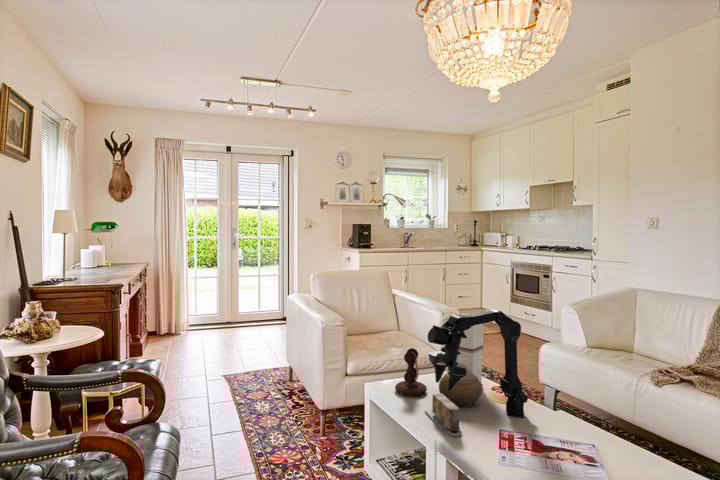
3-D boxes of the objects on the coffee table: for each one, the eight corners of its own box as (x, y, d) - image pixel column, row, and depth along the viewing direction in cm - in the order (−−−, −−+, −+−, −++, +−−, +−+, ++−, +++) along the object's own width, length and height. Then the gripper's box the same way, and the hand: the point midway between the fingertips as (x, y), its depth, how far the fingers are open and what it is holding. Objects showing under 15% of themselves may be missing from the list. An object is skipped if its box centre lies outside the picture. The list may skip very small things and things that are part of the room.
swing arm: (461, 430, 163) (461, 410, 163) (451, 431, 162) (451, 411, 162) (441, 411, 180) (441, 393, 180) (432, 412, 179) (432, 394, 179)
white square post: (482, 388, 212) (483, 316, 211) (472, 394, 204) (473, 319, 203) (461, 382, 219) (462, 313, 219) (450, 388, 211) (451, 316, 211)
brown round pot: (477, 396, 202) (479, 359, 201) (484, 412, 185) (486, 372, 184) (434, 393, 204) (435, 356, 203) (437, 409, 187) (438, 369, 186)
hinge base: (462, 432, 165) (462, 430, 165) (460, 438, 160) (460, 436, 160) (449, 430, 167) (449, 428, 167) (447, 435, 162) (447, 433, 162)
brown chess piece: (424, 399, 197) (424, 355, 197) (392, 395, 201) (392, 352, 201) (428, 388, 211) (428, 347, 211) (398, 385, 216) (398, 345, 215)
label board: (459, 429, 167) (459, 426, 167) (442, 431, 165) (442, 428, 165) (440, 410, 185) (440, 408, 185) (424, 412, 183) (424, 409, 183)
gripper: (423, 338, 178) (414, 375, 177) (446, 349, 160) (436, 391, 159) (446, 342, 181) (437, 379, 180) (471, 354, 164) (462, 395, 163)
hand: (442, 386), depth 170 cm, fingers open, 9 cm apart
